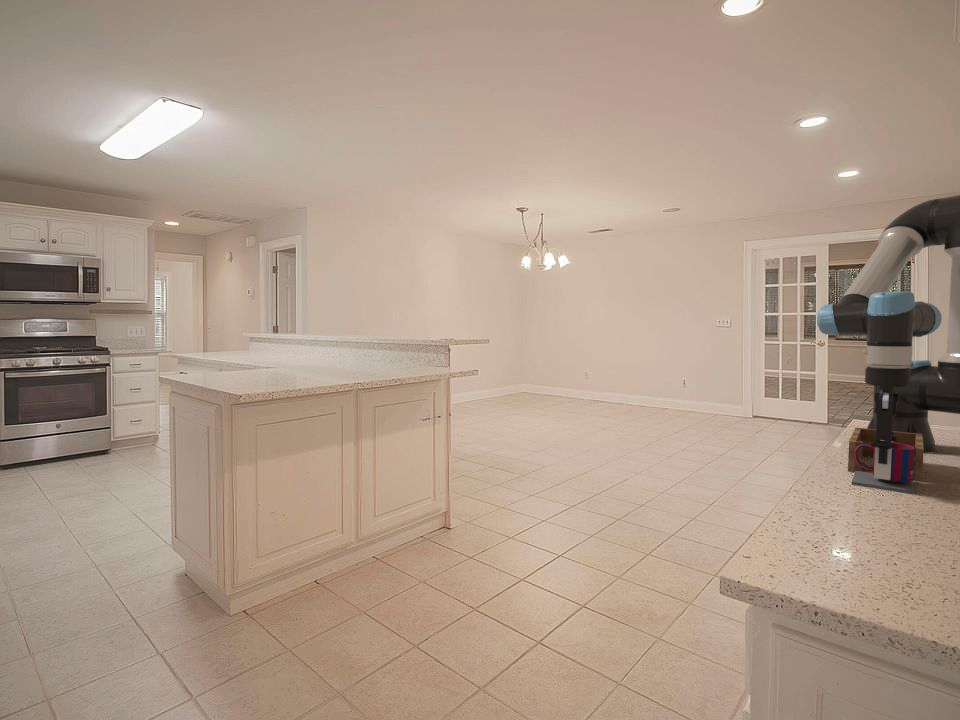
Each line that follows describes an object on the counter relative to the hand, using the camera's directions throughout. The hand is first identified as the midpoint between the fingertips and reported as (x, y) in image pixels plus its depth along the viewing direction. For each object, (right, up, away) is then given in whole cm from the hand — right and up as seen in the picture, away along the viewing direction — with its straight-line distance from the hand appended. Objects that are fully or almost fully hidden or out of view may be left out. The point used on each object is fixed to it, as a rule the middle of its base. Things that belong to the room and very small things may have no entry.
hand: (882, 474), depth 111 cm
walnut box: (+10, -1, +12) cm, 15 cm away
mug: (0, -1, 0) cm, 1 cm away
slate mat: (0, -2, 0) cm, 2 cm away
